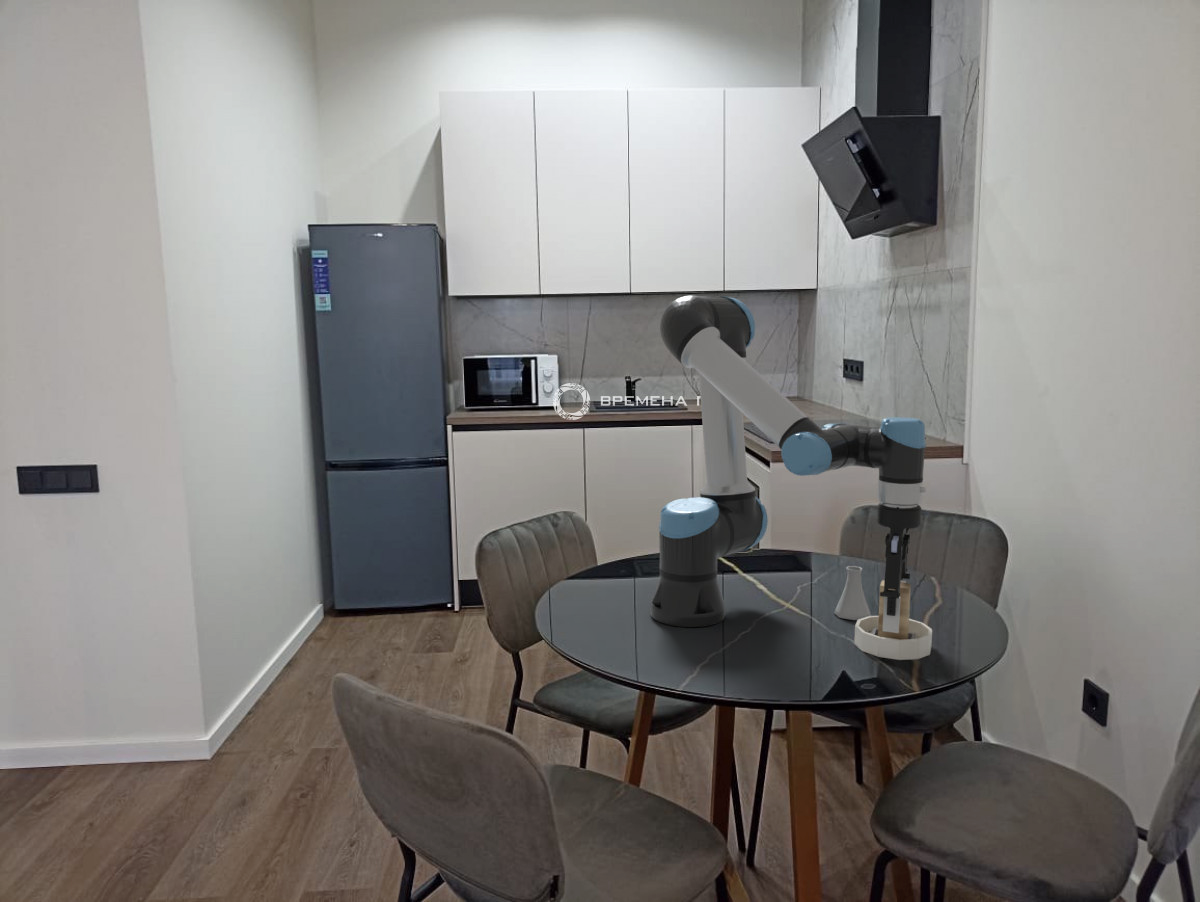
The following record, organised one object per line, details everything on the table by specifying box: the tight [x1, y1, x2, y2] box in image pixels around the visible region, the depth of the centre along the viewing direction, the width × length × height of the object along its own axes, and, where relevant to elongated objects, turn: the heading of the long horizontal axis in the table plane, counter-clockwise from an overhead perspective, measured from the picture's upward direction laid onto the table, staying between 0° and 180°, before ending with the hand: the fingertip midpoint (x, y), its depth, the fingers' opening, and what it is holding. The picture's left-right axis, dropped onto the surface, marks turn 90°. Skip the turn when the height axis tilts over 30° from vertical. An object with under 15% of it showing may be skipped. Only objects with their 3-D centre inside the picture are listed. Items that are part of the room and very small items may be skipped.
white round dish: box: [853, 615, 933, 661], centre depth 160 cm, size 13×13×4 cm
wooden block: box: [878, 579, 912, 640], centre depth 159 cm, size 5×3×11 cm, turn 65°
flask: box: [834, 565, 872, 621], centre depth 176 cm, size 7×7×10 cm
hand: (893, 621), depth 160 cm, fingers open, 10 cm apart
